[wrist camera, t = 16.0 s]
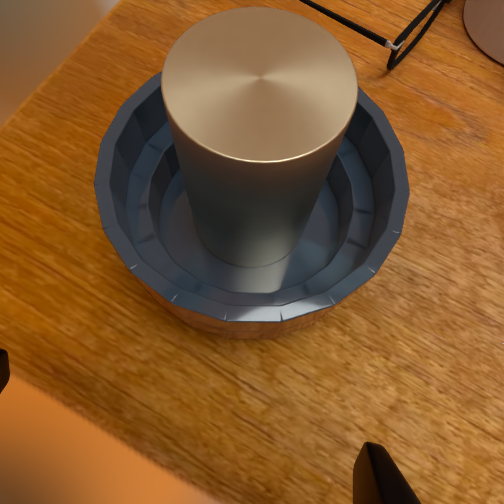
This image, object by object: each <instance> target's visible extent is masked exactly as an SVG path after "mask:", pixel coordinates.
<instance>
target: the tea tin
mask: <svg viewBox="0 0 504 504" xmlns="http://www.w3.org/2000/svg"><path fill="white" fill-rule="evenodd" d="M161 91H162V97H163V101H164V105H165V109H166V113H167V117H168V121H169V125H170V129H171V133H172V137H173V141H174V145H175V149H176V153H177V157H178V160H179V164H180V168H181V172H182V176H183V180H184V184H185V188H186V192H187V196H188V200H189V204H190V208H191V212H192V216H193V220H194V224H195V228H196V231H197V233H198V236H199V238H200V240H201V241H202V243H203V244H204V245H205V247H206V248H207V249H208V250H209V251H210V252H211V253H212V254H214V255H215V256H216V257H218V258H219V259H221V260H223V261H225V262H227V263H229V264H232V265H236V266H241V267H261V266H266V265H269V264H272V263H275V262H276V261H278V260H280V259H282V258H283V257H285V256H286V255H288V254H289V253H290V252H291V251H292V250H293V249H294V248H295V246H296V245H297V244H298V242H299V240H300V239H301V236H302V234H303V232H304V229H305V227H306V225H307V222H308V220H309V218H310V215H311V213H312V210H313V208H314V206H315V203H316V201H317V199H318V196H319V194H320V192H321V189H322V187H323V184H324V182H325V180H326V177H327V175H328V173H329V170H330V168H331V165H332V163H333V161H334V158H335V156H336V154H337V151H338V149H339V146H340V144H341V142H342V139H343V137H344V135H345V132H346V130H347V128H348V125H349V123H350V120H351V118H352V116H353V113H354V111H355V108H356V104H357V100H358V79H357V74H356V70H355V67H354V65H353V62H352V60H351V58H350V56H349V54H348V53H347V51H346V50H345V48H344V47H343V46H342V44H341V43H340V42H339V41H338V40H337V39H336V38H335V37H334V36H333V35H332V34H331V33H330V32H328V31H327V30H326V29H325V28H323V27H322V26H320V25H319V24H317V23H315V22H314V21H312V20H310V19H308V18H305V17H303V16H301V15H298V14H295V13H292V12H289V11H285V10H281V9H275V8H268V7H243V8H236V9H231V10H226V11H222V12H219V13H216V14H214V15H211V16H209V17H207V18H205V19H202V20H201V21H199V22H197V23H196V24H194V25H193V26H191V27H190V28H189V29H188V30H186V31H185V32H184V33H183V34H182V35H181V36H180V37H179V38H178V39H177V40H176V42H175V43H174V44H173V46H172V47H171V49H170V51H169V53H168V55H167V57H166V59H165V62H164V65H163V68H162V75H161Z"/></svg>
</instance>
